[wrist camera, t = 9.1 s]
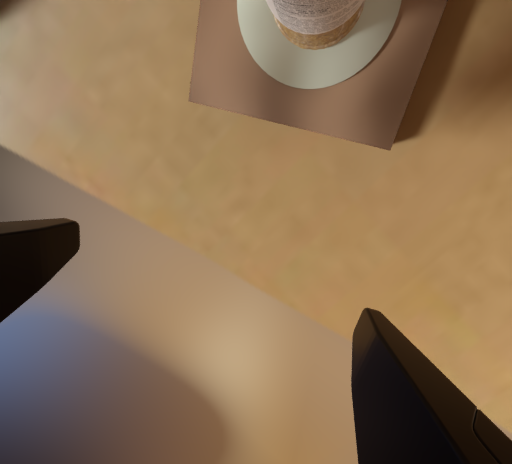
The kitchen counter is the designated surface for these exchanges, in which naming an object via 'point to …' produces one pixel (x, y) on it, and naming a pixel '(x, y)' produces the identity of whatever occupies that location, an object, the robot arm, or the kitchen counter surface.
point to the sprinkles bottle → (315, 20)
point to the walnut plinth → (314, 68)
